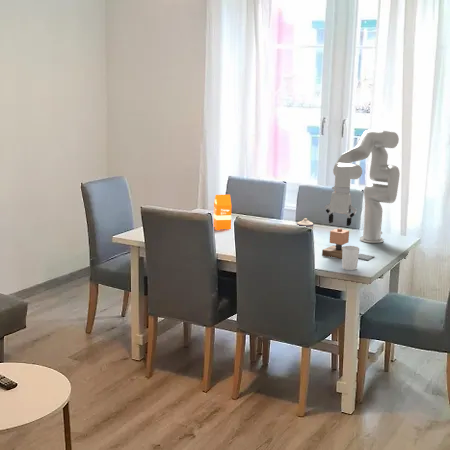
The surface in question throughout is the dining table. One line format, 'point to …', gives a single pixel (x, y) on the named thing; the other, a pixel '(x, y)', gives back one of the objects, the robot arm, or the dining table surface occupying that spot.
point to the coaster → (365, 257)
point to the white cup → (350, 257)
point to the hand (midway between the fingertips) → (339, 224)
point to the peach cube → (339, 236)
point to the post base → (333, 251)
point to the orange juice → (222, 212)
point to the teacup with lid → (305, 223)
